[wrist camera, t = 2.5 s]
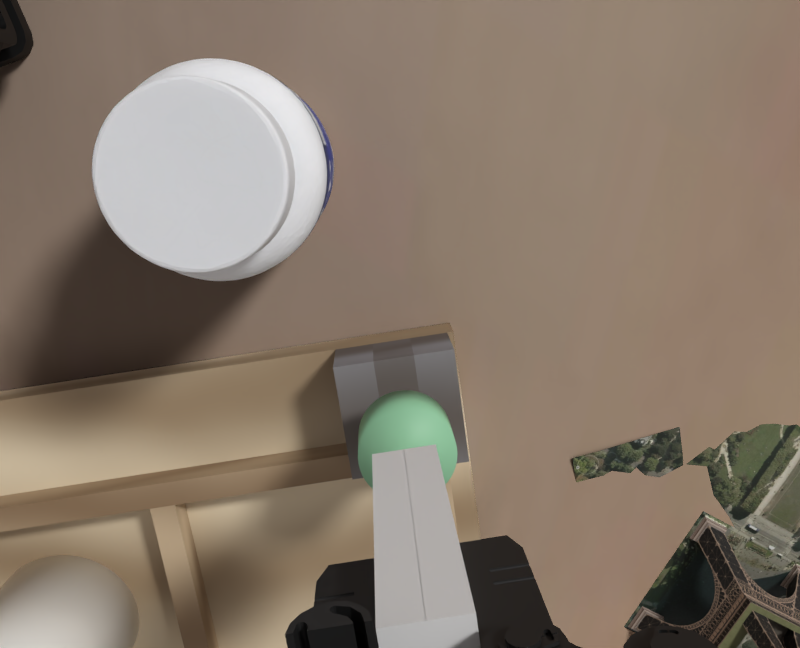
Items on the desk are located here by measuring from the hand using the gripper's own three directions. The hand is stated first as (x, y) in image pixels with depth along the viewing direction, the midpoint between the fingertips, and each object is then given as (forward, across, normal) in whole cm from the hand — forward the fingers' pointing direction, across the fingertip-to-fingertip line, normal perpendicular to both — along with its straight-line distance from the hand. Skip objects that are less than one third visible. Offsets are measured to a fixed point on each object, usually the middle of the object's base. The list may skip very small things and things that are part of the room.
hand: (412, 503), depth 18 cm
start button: (+6, 0, 0) cm, 6 cm away
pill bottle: (+9, -3, +8) cm, 12 cm away
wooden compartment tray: (+8, -8, -4) cm, 12 cm away
